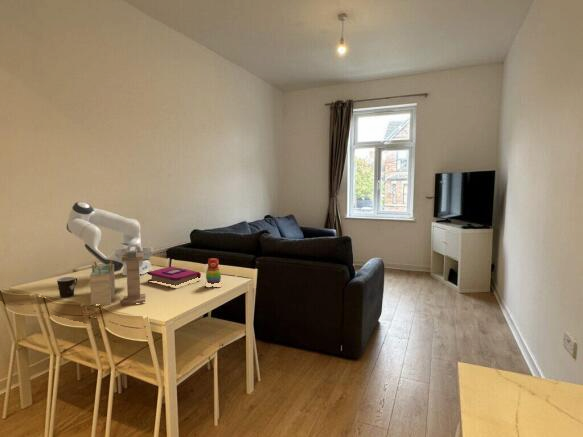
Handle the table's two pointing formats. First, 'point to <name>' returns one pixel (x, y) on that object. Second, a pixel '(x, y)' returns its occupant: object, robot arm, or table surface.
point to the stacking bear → (213, 271)
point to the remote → (132, 251)
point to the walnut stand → (133, 280)
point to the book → (173, 275)
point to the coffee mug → (66, 286)
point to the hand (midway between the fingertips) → (133, 247)
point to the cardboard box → (102, 284)
